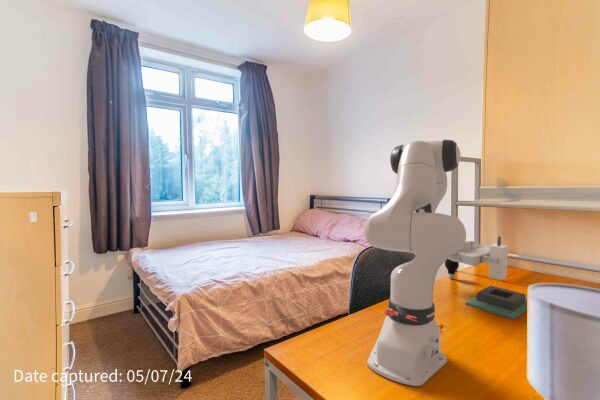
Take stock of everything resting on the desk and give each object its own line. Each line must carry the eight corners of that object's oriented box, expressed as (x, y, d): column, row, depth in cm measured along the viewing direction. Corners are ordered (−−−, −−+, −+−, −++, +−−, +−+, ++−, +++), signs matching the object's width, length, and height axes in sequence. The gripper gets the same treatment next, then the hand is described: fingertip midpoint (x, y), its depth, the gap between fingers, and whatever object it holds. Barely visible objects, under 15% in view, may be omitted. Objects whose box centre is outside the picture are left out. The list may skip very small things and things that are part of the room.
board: (514, 320, 102) (514, 308, 102) (465, 304, 115) (465, 294, 114) (536, 302, 115) (536, 292, 115) (489, 290, 128) (490, 281, 128)
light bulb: (460, 281, 140) (461, 259, 139) (448, 281, 140) (448, 259, 139) (454, 276, 146) (455, 256, 145) (442, 276, 146) (442, 256, 145)
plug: (501, 280, 111) (503, 238, 109) (488, 277, 114) (490, 236, 113) (506, 277, 113) (508, 236, 112) (493, 274, 117) (495, 234, 115)
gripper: (449, 248, 117) (489, 256, 106) (474, 240, 129) (511, 246, 118) (449, 264, 117) (488, 273, 106) (473, 255, 130) (511, 262, 119)
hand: (501, 259), depth 112 cm, fingers closed on plug, 4 cm apart
